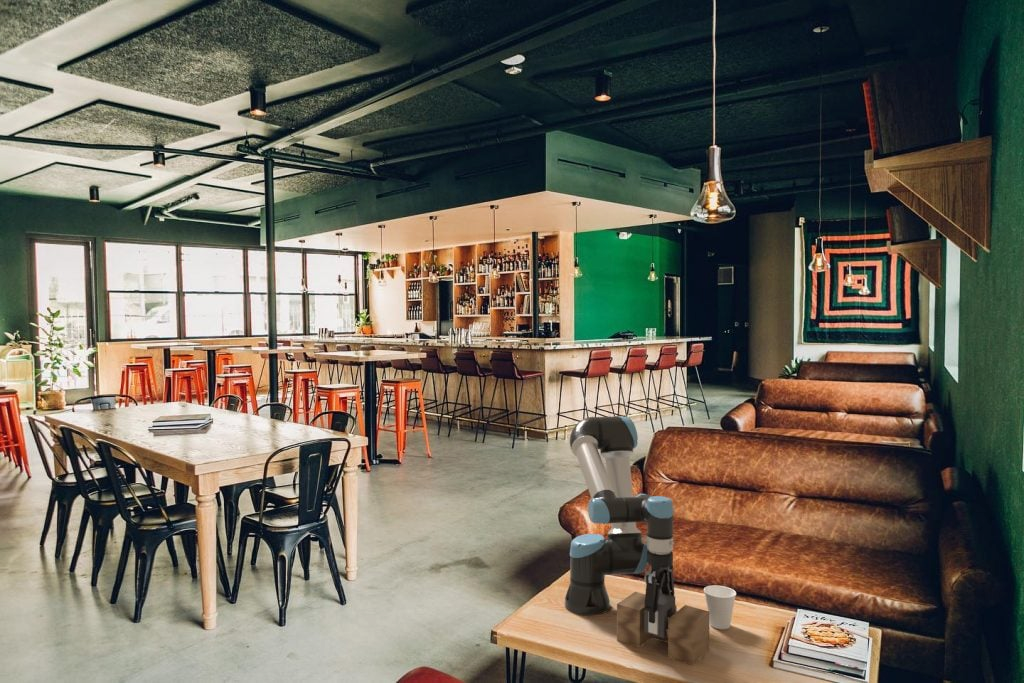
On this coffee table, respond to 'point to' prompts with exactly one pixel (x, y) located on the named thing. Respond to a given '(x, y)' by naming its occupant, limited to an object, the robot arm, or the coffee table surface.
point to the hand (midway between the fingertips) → (659, 627)
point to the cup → (719, 605)
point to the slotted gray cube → (661, 614)
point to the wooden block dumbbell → (683, 629)
